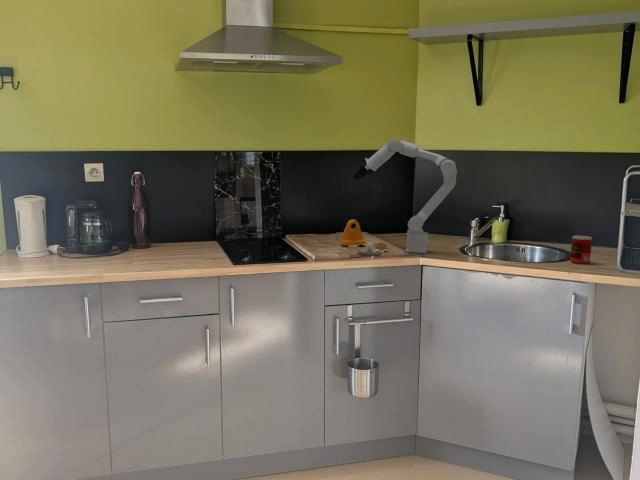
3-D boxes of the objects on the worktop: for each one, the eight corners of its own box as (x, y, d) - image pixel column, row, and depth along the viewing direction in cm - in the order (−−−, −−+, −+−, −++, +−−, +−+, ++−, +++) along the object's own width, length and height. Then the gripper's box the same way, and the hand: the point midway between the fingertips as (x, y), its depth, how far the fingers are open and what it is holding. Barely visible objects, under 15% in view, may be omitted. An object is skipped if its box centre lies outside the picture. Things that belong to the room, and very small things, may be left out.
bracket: (342, 247, 284) (343, 221, 282) (340, 244, 291) (341, 219, 289) (365, 247, 285) (366, 221, 283) (363, 244, 292) (364, 219, 290)
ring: (387, 250, 277) (387, 242, 276) (385, 252, 272) (386, 244, 271) (375, 249, 278) (376, 242, 277) (374, 251, 273) (374, 243, 272)
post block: (381, 252, 271) (382, 241, 270) (378, 256, 262) (379, 244, 261) (361, 251, 273) (361, 240, 272) (357, 254, 264) (358, 243, 263)
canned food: (589, 262, 260) (592, 236, 258) (589, 265, 252) (592, 238, 251) (570, 260, 263) (572, 234, 261) (569, 263, 255) (571, 237, 254)
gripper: (375, 151, 281) (353, 170, 285) (371, 151, 267) (347, 171, 271) (385, 163, 281) (362, 182, 285) (381, 164, 267) (357, 184, 271)
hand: (356, 177), depth 278 cm, fingers open, 7 cm apart
